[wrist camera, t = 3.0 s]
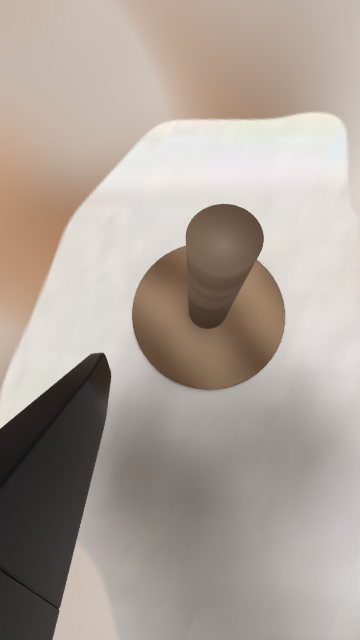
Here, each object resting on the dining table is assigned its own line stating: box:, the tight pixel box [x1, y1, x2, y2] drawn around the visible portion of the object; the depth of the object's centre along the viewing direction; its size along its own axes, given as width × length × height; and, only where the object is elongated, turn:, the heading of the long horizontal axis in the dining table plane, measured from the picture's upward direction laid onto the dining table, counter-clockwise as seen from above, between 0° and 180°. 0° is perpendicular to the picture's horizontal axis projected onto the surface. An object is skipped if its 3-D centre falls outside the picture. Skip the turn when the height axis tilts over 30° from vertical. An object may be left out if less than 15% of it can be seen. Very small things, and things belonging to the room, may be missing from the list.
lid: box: [132, 204, 285, 389], centre depth 15 cm, size 12×12×11 cm
